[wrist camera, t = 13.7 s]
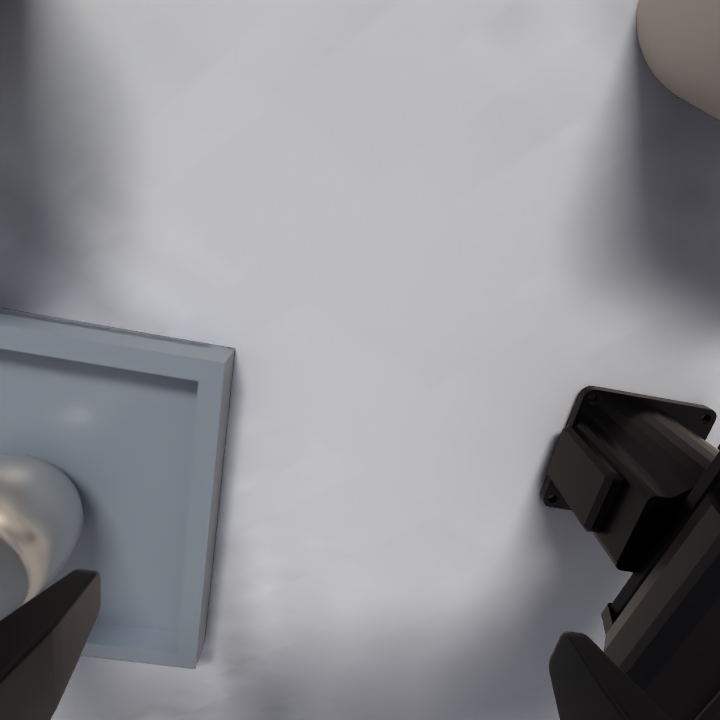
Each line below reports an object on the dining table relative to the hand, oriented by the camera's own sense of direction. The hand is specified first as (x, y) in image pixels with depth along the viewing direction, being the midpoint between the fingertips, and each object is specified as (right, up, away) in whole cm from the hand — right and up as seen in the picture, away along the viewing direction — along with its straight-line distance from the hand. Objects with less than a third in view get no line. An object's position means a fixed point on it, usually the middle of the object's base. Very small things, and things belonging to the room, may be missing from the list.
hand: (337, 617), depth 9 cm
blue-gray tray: (-16, -1, +14) cm, 21 cm away
